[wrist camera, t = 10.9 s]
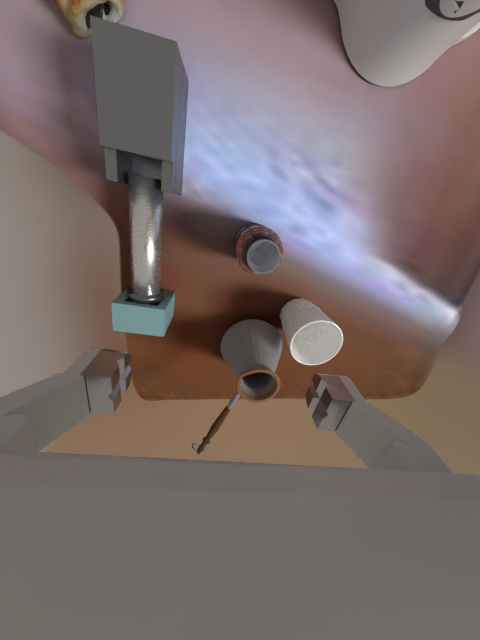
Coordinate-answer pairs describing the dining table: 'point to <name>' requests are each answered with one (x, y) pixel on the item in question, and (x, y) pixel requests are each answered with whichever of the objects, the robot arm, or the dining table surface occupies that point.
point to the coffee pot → (249, 365)
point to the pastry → (89, 13)
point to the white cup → (309, 332)
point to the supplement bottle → (258, 249)
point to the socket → (143, 315)
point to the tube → (145, 239)
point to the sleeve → (139, 103)
